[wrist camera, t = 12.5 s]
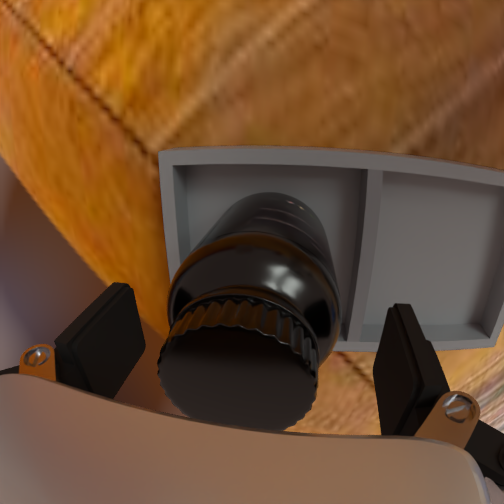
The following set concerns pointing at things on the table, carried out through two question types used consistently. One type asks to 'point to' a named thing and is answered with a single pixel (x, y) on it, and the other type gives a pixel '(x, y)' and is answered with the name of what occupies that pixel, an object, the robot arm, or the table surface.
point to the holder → (365, 230)
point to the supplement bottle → (252, 316)
